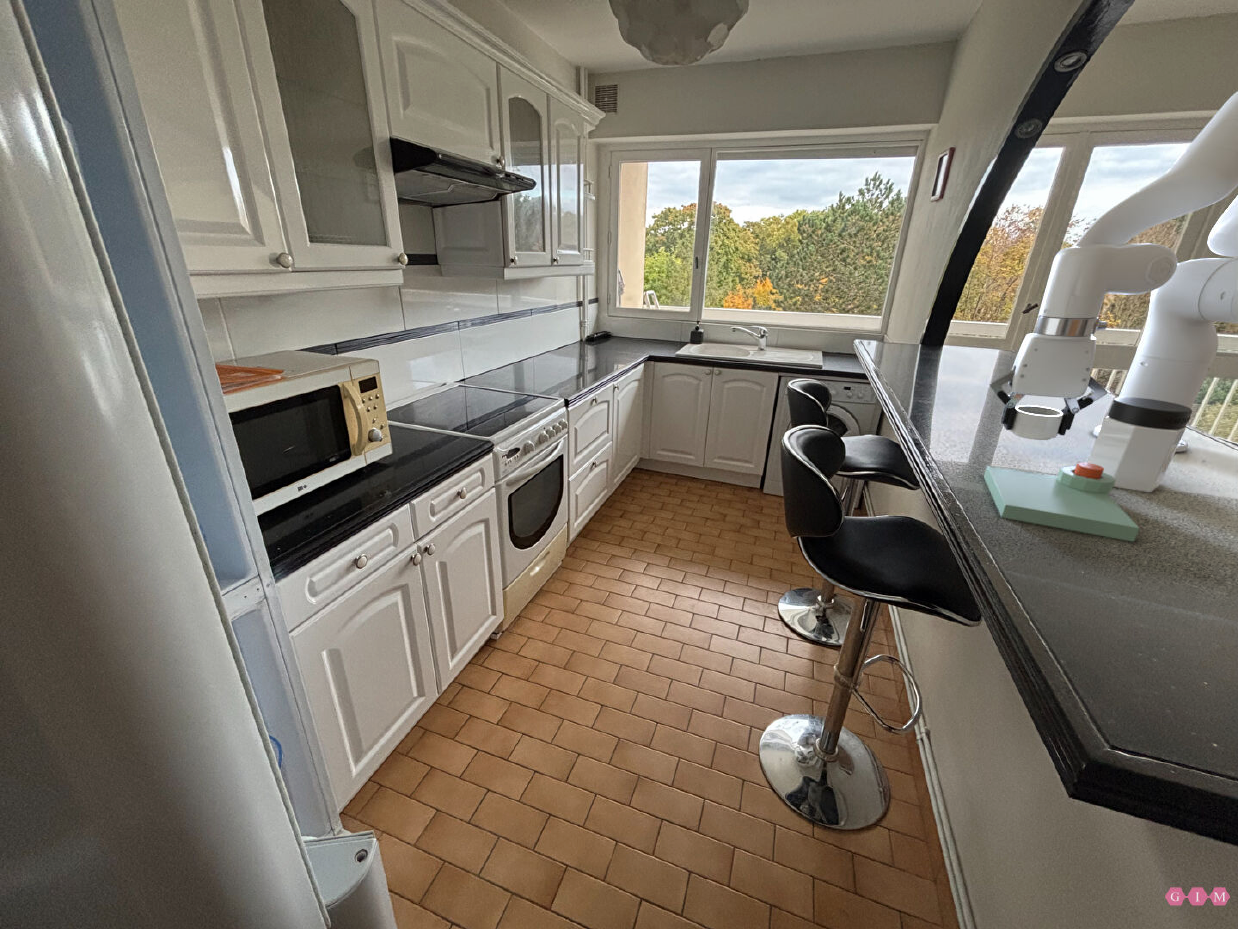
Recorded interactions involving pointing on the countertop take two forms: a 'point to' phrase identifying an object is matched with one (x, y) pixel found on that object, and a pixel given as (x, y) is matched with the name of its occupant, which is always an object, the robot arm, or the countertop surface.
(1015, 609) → the countertop surface
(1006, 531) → the countertop surface
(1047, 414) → the bowl
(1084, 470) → the button
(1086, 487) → the scale
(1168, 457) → the jar
